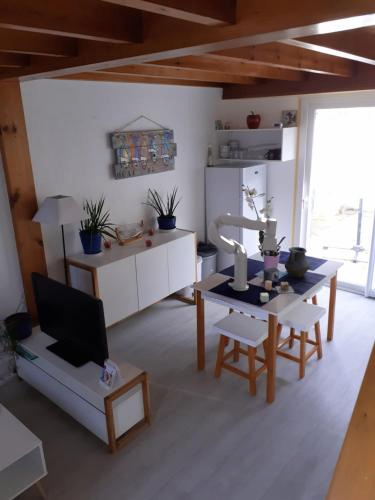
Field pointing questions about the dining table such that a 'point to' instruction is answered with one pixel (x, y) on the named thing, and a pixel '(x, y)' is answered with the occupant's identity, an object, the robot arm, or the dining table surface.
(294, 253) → the pitcher
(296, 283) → the dining table surface
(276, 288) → the grey mat
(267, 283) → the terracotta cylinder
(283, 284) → the walnut block
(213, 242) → the robot arm
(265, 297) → the sage block
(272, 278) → the small box
